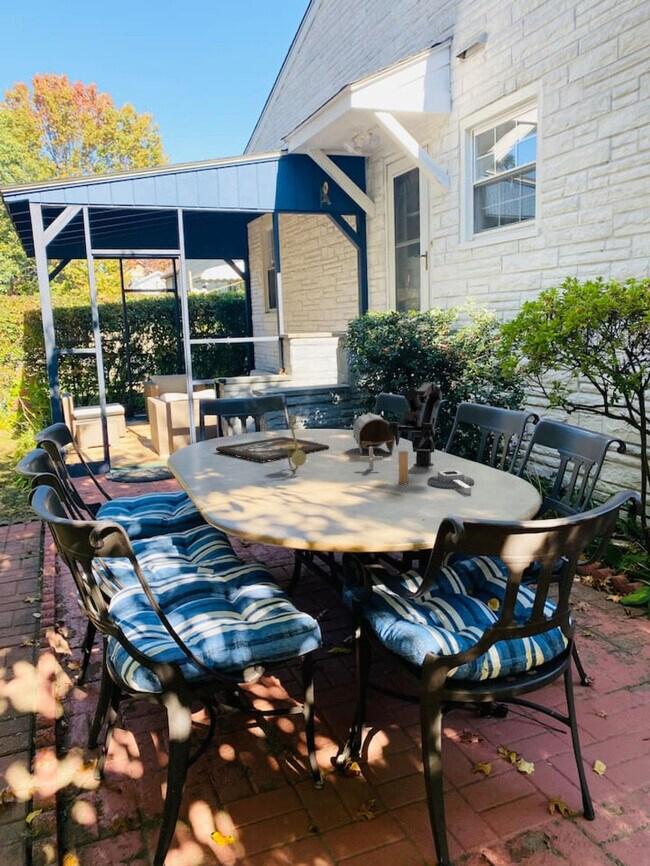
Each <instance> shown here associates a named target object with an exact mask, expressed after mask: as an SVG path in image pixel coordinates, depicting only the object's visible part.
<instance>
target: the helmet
mask: <svg viewBox="0 0 650 866" xmlns="http://www.w3.org/2000/svg"><path fill="white" fill-rule="evenodd" d="M389 423H390V422H389V421H387V419H384V418H383V417H381V415H378V414H375V413H372V412H368V413H367V414H364V415H361V416H359V417H358V418H357V419H356V420H355V421H354V424H353V426H352V427H353V435H352V436H353V438H354V440H355V441H356V444H357V447H358V449H359V453H360V455H363V451H362V450H363V449H366V450H369V447H373V448H374V449H377V448H379V447H381V446H382V445H384V444H385V445H386V448H387V450H388V451H389V453H391V454H392V453H393V451H394V448H395V447H394V446H395V444H396V441H395V436H393V435H392V434H390V431H389V429H388V424H389Z"/></svg>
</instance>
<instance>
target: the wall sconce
mask: <svg viewBox="0 0 650 866" xmlns="http://www.w3.org/2000/svg"><path fill="white" fill-rule="evenodd" d="M296 424H297V419H296V416H295V415H294V414H293V415H291V416H290V418H289V425H290V430H291V433H292V434H291V435H292V438H294V443H295V444H289V445H283V446H281V448H283V449H289V450H288V458H287V462H288V465H289V468H290V469H291V470H292V471H293V470H294V471H293V472H296V471H297V470H298V468H299V467H300V466H303V465H304V464H305V463H306V461H307V454H305V453H304V452H303V451H300V450H298V448H301V447H302V445H298V444H297V442H296V439H297V438H296V435H295V434H296V433H295V431H294V426H293V425H295V426H296ZM293 449H296V452H294V450H293ZM290 452H291V456H292V457H290ZM292 452H293V454H292ZM292 463H293V465H295V468H294V467H293V465H292Z"/></svg>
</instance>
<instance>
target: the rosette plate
mask: <svg viewBox="0 0 650 866" xmlns="http://www.w3.org/2000/svg"><path fill="white" fill-rule="evenodd" d="M436 474H437V475H434V476H431V477H429V478H428V479H427V484H428V485H429V486H431V487H435V488H440V489H454V488H456V490H458V491H459V492H460V493H462V494H463V495H472V486H473V485H474V484H475V480H474V478H471V477H470V476H466V475H465V474H464V473H462V472H461V471H459V470H457V469H453V470H452V469H450V470H438V471H437V473H436ZM471 485H472V486H471Z"/></svg>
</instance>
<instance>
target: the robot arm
mask: <svg viewBox="0 0 650 866" xmlns="http://www.w3.org/2000/svg"><path fill="white" fill-rule="evenodd" d="M403 397H404V400H405V403H406V405H407V408H408V411H406V410H405V411H404V410H403V412H402V420H403V424H404V425H400V423H399V422H396V421H394V422H393V421H390V422H389V424H388V429H389V431H390V434H392V435H393V436H395V445H396V446H395V447H398V446H399V444H400V438H401V432H402V431H403V432H414V436H413V437H412V439H411V444H412V445H411V446H412V453H416V455H415V463H413V466H417V467H422V468H426V467H429V466H430V465H431V466H434V465H435V464H434V463H433V462H432V453H435V444H434V441H433V438H432V437H435V436H436V435H435V434H436V430H435V425H434V424H433V422H434V421H433V419H434V417H435V411H436V409H437V408H438V407H439V406H440V405H441V401H442V400H443V393H442V390H441V389H440V388H439V387H438V386H437V385H436V384H435V383H434V382H424V383H423V384H422V385H421V386H420V387H419V388H418V389H416V387H410V388H409V389H408V390H406V391H405V393H404V396H403ZM423 405H424V406H423Z"/></svg>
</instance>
